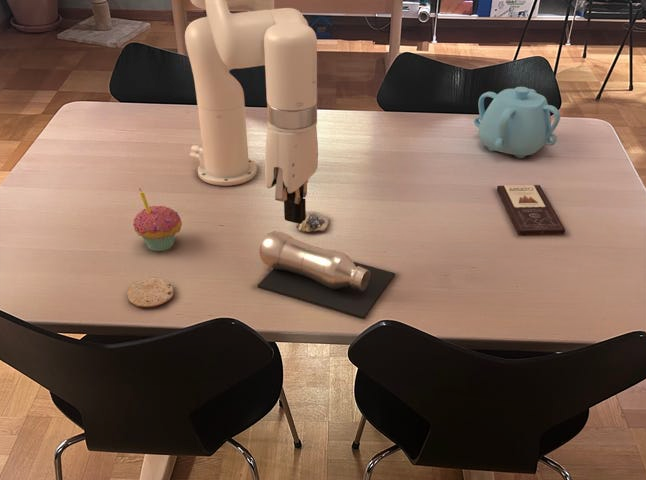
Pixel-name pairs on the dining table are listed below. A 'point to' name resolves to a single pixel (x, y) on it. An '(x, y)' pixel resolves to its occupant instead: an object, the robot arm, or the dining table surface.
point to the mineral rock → (313, 223)
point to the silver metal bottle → (312, 262)
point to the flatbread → (150, 292)
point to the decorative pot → (516, 121)
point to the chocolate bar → (530, 210)
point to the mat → (329, 290)
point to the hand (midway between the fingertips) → (295, 219)
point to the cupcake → (157, 225)
